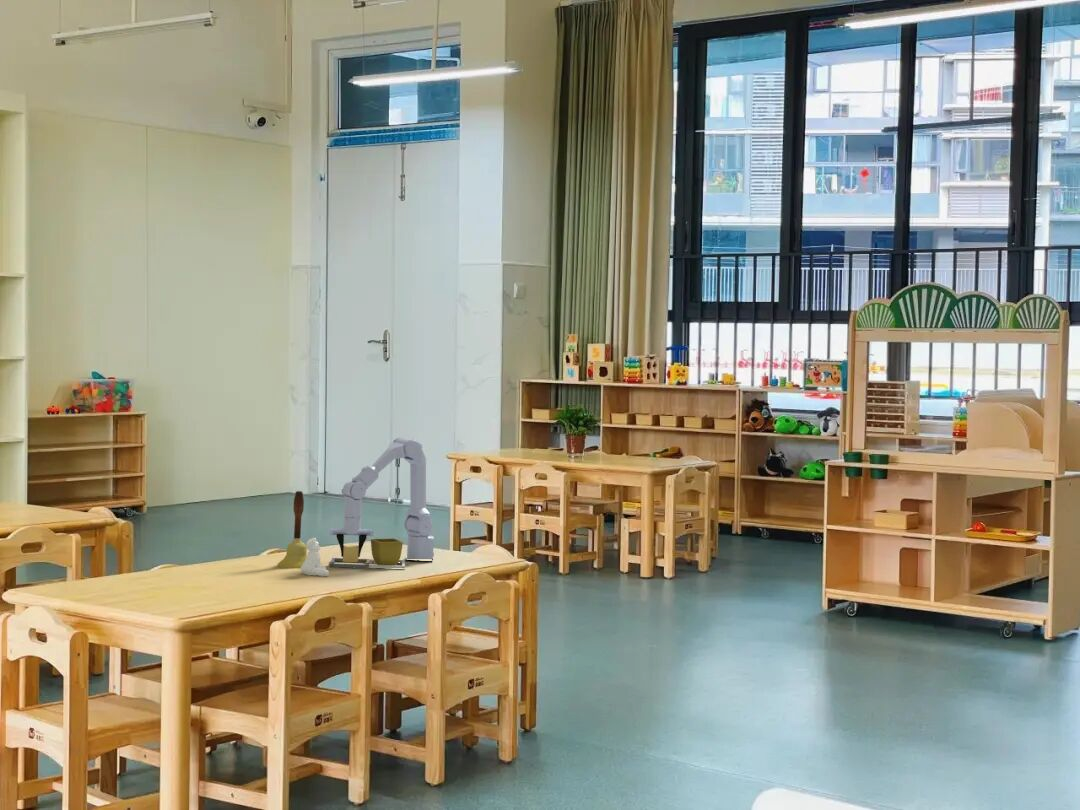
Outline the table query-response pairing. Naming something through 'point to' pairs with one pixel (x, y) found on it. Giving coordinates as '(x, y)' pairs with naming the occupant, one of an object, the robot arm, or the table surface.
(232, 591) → the table surface
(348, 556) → the ochre block
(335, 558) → the sorting board
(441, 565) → the table surface
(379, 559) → the flower pot
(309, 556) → the white creature statuette
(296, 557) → the handbell
